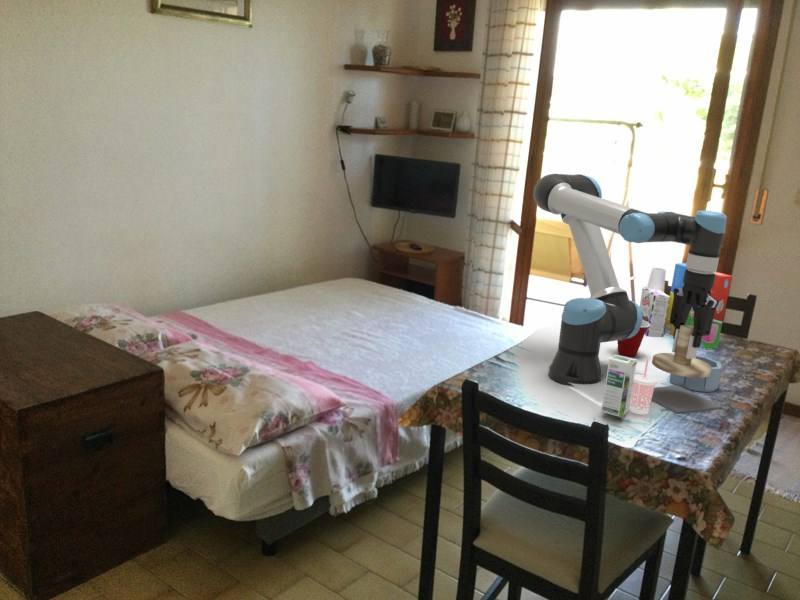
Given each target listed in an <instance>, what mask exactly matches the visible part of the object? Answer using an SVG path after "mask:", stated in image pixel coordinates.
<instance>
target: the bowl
mask: <svg viewBox="0 0 800 600" xmlns="http://www.w3.org/2000/svg"><path fill="white" fill-rule="evenodd" d="M696 358H697V359H700V360H702V361H704V362H706V363H708V364H709V365H710V366H711V367H712V370H711V375H710V376H708V377H704V378H691V377H684V376H678V375H674V374H671V373H669V382H670V383H672V385H673V386H675V385H678V386H680V387H682V388H685V389H687V390H689V391H691V392H698V393H712V392H715V391H717V390H718V388H719V384H720V379H721V376H722V375H721V373H722V368H723V367H722V363H721V362H720V361H717V360H715V359H712V358H710V357H708V356H703V355H702V356H701V355H697V354H696Z"/></svg>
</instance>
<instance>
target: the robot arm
mask: <svg viewBox="0 0 800 600" xmlns="http://www.w3.org/2000/svg"><path fill="white" fill-rule="evenodd" d="M602 195H603V193H602V189H601V186H600V184H599V183H598V181H597V180H596V179H595V178H593V177H592V176H589V175H585V174H580V173H579V174H563V173H551V174H549V173H548V174H547V175H543V176H542V177H541V178H540V179H539V180H538V181H537V182H536V184H535V186H534V188H533V199H534V202H535V204H536V205H537V206H538V207H539V208H540V209H541V210H543V211H546V212H548V213H551V214H553V215H560V217H561V221H562V223H564V224H566V225H568V226H569V228H570V233H571V235H572V239H573V242H574V246H575V248H576V251H577V254H578V257H579V260H580V264H581V267H582V270H583V273H584V277H585V280H586V283H587V286H588V289H589V293H590V297H578V298H573V299H570V300H568V301H567V302H566V303H564V307H563V311H562V314H561V321H560V323H561V324H560V330H559V339H558V347H557V351H556V352H555V356H554V358H553V360H552V362H551V363H550V365H549V366H548V368H549V369H548V376H549V378H551V379H552V380H554V381H556V382H558V383H561V384H563V385H567V386H571V387H574V385H575V384H577V385H594V384H598V383H601V381H602V377H603V374H602V370H601V363H600V358H599V355H600V349H601V343H608V342H614V341H615V342H616V341H617V342H618V341H622V340H624V339H628V338H631V337H633V336H635V335H636V334H637V333H638V331H639V329H640V327H641V325H642V312H641V309H640V305H639V304H638V303H636V302H635V301H633V300H631V299H629V295H628V292H627V291H626V290H624V289H623V288H620V285H619V282H618V278H617V276H616V273H615V269H614V268H613V264H612V263H613V262H612V260H611V258H610V254H609V250H608V249H607V245H606V242H605V238H604V235H603V233H602V230H601V229H604V230H607V231H609V232H612V233H615V234H618V235H620V236H621V237H622V238H623V240H624V241H626V242H629V243H636V244H642V243H664V242H665V243H667V242H669V243H670V242H672V243H677V244H682V245H687V246H689V248H688V254H687V259H686V262H685V263H686V268H688V269H686V270H685V273H684V278H683V283H684V286H683V287H682V288H675V289H674V290H673V292H674V299H673V305H672V310H671V316H670V324H673V325H674V327H675V330H674V335H673V336H672V338H673V343H672V344H673V345H672V349H671V353H675V350H676V345H677V340H678V335H679V330H680V325H685V323H686V320H687V318H688V315H689V313H690V310H691V308H692V307H693V310H694V331H693V334H691V335H690V340H689V345H688V350H687V354H686V358H687V359H693V358H696V355H697V352H698V349H699V348H701V347H700V344H701V339H702V336H708V335H710V331H711V326H712V322H713V317H714V313H715V309H716V307H717V306H718V304H719V301H718V300H714V299H713V298H712V297H711V288H712V287H713V286H714V281H715V276H716V275H715V274H714V272H718V271H717V270H718V266H719V260H720V255H721V252H722V251H721V249H722V245H723V241H724V237H725V234H726V227H727V219H728V218H727V215H726V214H725V213H723V212H719V211H718V212H717V211H712V210H697V212H696V213H695V215H694V216H692V215H691V216H690V215H686V214H682V213H677V212H673V211H663V210H662V211H659V212H657V213H656V212H655V213H648V212H645V211H641V210H638V209H635V208H633V207H629V206H626V205H622V204H619V203H617V202H614V201H610V200H607V199H605V198H602V197H603V196H602ZM706 302H707V303H706ZM698 306H701V307H698Z"/></svg>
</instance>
